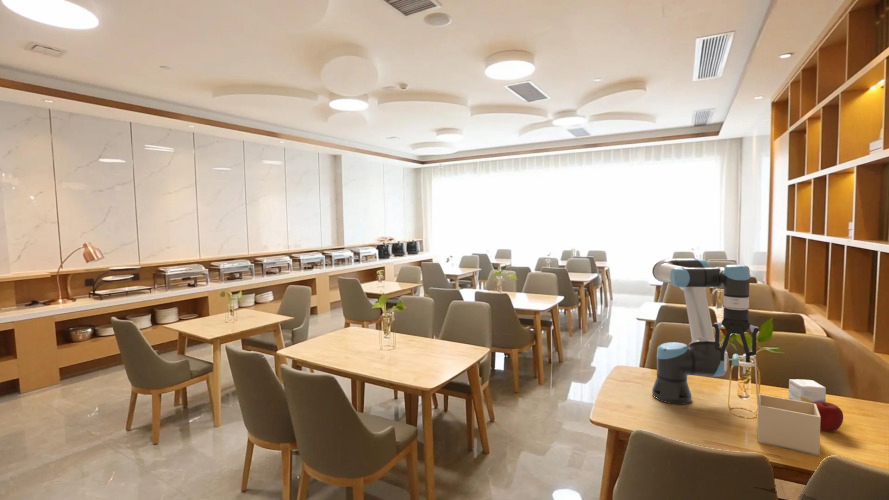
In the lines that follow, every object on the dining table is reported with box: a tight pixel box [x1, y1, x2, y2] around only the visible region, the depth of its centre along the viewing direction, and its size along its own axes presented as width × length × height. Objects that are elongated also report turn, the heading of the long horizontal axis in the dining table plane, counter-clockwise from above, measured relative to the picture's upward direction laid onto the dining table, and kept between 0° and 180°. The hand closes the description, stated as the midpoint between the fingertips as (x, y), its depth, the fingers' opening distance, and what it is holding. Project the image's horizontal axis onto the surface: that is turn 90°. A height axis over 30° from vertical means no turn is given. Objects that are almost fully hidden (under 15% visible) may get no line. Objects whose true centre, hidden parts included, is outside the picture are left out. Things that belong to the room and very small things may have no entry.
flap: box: [731, 353, 759, 406], centre depth 153 cm, size 15×12×7 cm
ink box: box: [788, 378, 827, 403], centre depth 169 cm, size 9×8×12 cm
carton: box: [756, 393, 821, 457], centre depth 147 cm, size 16×12×13 cm
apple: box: [812, 401, 844, 432], centre depth 154 cm, size 10×10×10 cm
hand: (734, 371), depth 154 cm, fingers open, 5 cm apart
